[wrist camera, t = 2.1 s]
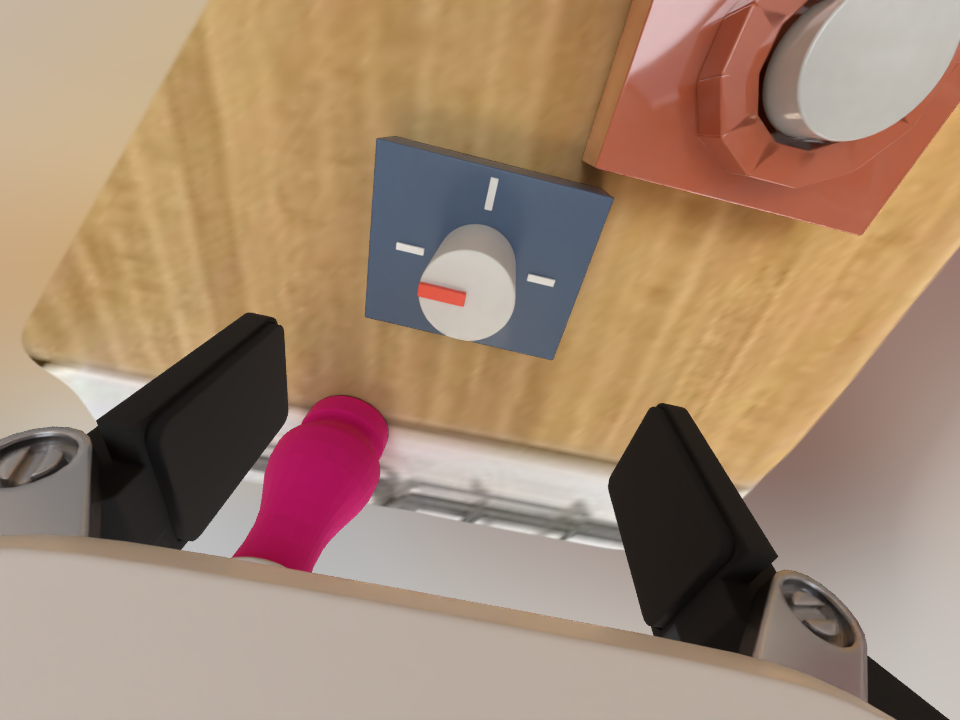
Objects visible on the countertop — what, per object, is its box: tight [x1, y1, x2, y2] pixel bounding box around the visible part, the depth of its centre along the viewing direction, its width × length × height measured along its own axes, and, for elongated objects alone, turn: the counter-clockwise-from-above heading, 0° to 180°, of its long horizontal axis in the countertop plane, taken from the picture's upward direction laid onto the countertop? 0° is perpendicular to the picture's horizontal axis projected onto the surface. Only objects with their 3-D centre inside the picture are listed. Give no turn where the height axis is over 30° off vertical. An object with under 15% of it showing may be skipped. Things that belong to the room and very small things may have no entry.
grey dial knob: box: [417, 224, 516, 341], centre depth 18 cm, size 4×4×5 cm
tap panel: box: [365, 136, 614, 360], centre depth 21 cm, size 11×9×3 cm
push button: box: [762, 0, 960, 142], centre depth 12 cm, size 4×4×2 cm
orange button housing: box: [582, 0, 960, 236], centre depth 15 cm, size 12×9×6 cm
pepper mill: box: [232, 395, 388, 573], centre depth 22 cm, size 7×7×20 cm
